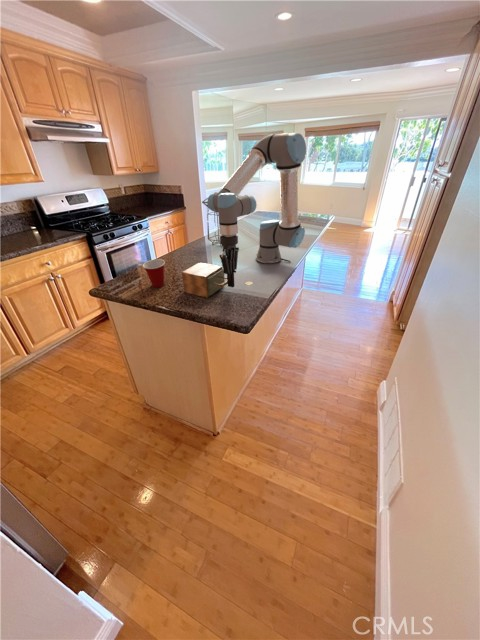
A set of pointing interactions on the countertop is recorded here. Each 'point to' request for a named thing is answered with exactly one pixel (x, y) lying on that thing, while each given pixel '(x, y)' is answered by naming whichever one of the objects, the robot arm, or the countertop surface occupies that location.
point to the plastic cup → (155, 271)
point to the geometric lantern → (208, 224)
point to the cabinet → (198, 278)
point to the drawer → (216, 282)
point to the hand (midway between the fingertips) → (231, 286)
